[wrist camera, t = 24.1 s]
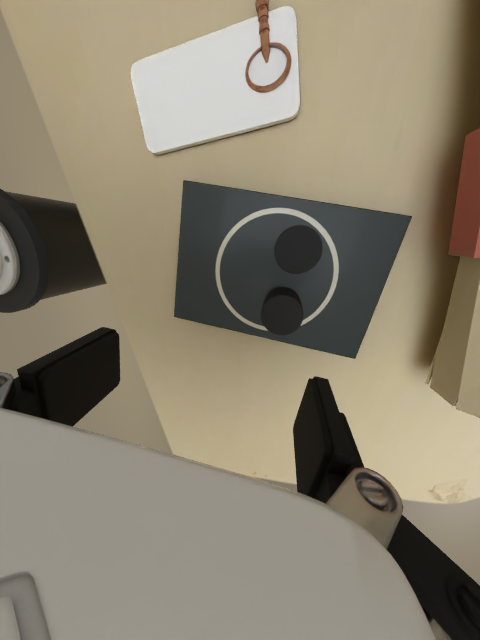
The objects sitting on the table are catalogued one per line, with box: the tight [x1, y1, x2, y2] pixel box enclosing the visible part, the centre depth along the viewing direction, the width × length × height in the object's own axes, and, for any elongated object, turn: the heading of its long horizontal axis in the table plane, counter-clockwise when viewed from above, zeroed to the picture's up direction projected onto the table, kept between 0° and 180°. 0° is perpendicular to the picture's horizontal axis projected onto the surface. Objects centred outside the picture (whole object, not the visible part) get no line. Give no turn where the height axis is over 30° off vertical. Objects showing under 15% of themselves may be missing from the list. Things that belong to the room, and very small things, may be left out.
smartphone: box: [131, 6, 300, 155], centre depth 21 cm, size 7×1×15 cm
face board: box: [174, 180, 412, 359], centre depth 25 cm, size 22×15×1 cm
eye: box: [274, 225, 323, 274], centre depth 21 cm, size 4×4×4 cm
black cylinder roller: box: [261, 287, 304, 335], centre depth 24 cm, size 4×4×4 cm
